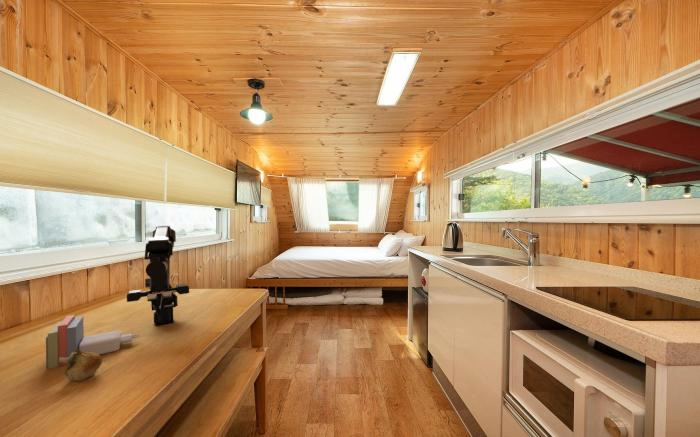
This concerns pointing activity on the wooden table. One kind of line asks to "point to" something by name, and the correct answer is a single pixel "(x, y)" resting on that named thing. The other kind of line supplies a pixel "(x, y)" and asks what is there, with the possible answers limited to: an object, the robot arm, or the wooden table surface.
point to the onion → (81, 365)
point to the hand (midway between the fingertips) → (159, 315)
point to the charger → (105, 342)
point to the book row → (63, 340)
